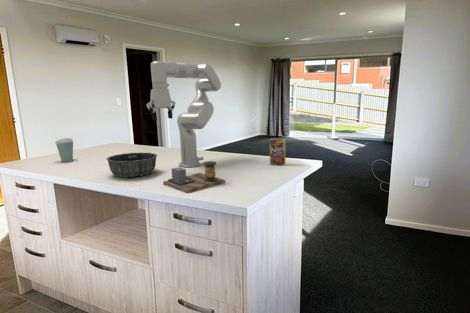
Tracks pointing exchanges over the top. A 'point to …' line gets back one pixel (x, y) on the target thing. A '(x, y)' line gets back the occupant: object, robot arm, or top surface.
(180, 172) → the gray rectangular block
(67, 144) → the disposable coffee cup
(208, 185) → the winding board
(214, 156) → the top surface
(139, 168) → the bundt pan
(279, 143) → the candy box
